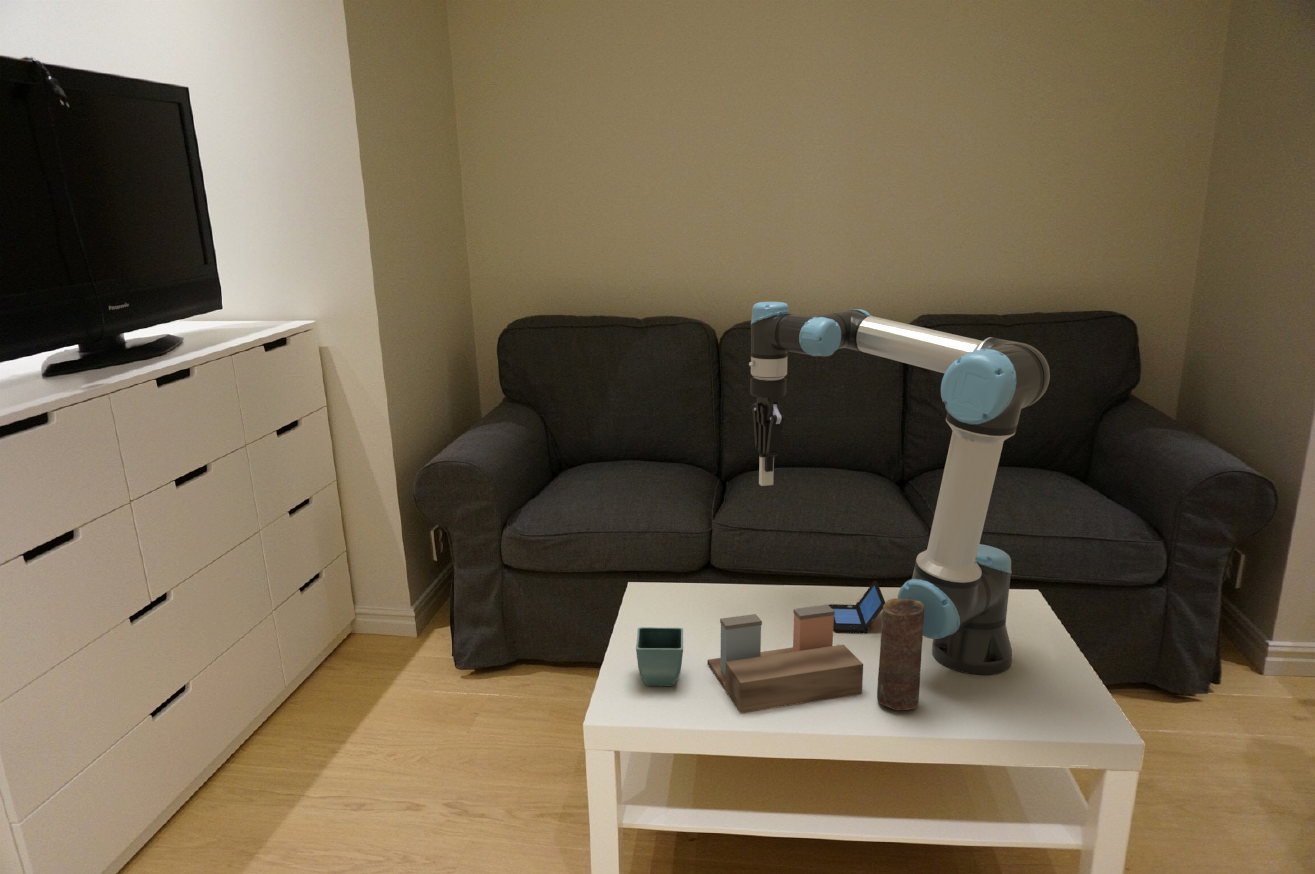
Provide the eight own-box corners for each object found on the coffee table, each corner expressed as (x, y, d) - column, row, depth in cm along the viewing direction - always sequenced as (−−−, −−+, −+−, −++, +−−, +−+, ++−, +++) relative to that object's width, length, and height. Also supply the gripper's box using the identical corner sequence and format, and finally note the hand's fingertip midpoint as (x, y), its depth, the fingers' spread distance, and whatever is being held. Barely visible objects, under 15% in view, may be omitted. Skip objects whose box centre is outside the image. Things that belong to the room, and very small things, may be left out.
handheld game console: (826, 608, 206) (827, 577, 204) (874, 609, 205) (876, 579, 204) (832, 634, 194) (833, 601, 192) (884, 635, 193) (886, 603, 192)
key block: (707, 664, 182) (707, 636, 180) (819, 648, 188) (820, 621, 186) (740, 713, 164) (740, 683, 163) (861, 693, 170) (863, 664, 169)
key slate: (719, 669, 177) (720, 618, 174) (754, 663, 179) (755, 613, 176) (725, 677, 174) (725, 626, 171) (760, 671, 176) (761, 621, 173)
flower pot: (683, 692, 171) (683, 648, 169) (636, 692, 172) (635, 648, 169) (683, 669, 180) (683, 627, 178) (638, 668, 180) (637, 627, 178)
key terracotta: (791, 658, 181) (793, 609, 178) (825, 653, 183) (827, 604, 180) (798, 666, 178) (800, 616, 175) (832, 661, 180) (834, 611, 177)
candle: (910, 720, 161) (917, 616, 156) (870, 708, 165) (875, 606, 160) (923, 701, 168) (930, 600, 163) (884, 690, 172) (890, 591, 166)
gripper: (740, 372, 197) (739, 477, 203) (763, 383, 185) (761, 495, 191) (773, 370, 199) (770, 474, 205) (797, 381, 187) (794, 491, 193)
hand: (766, 484), depth 198 cm, fingers closed
